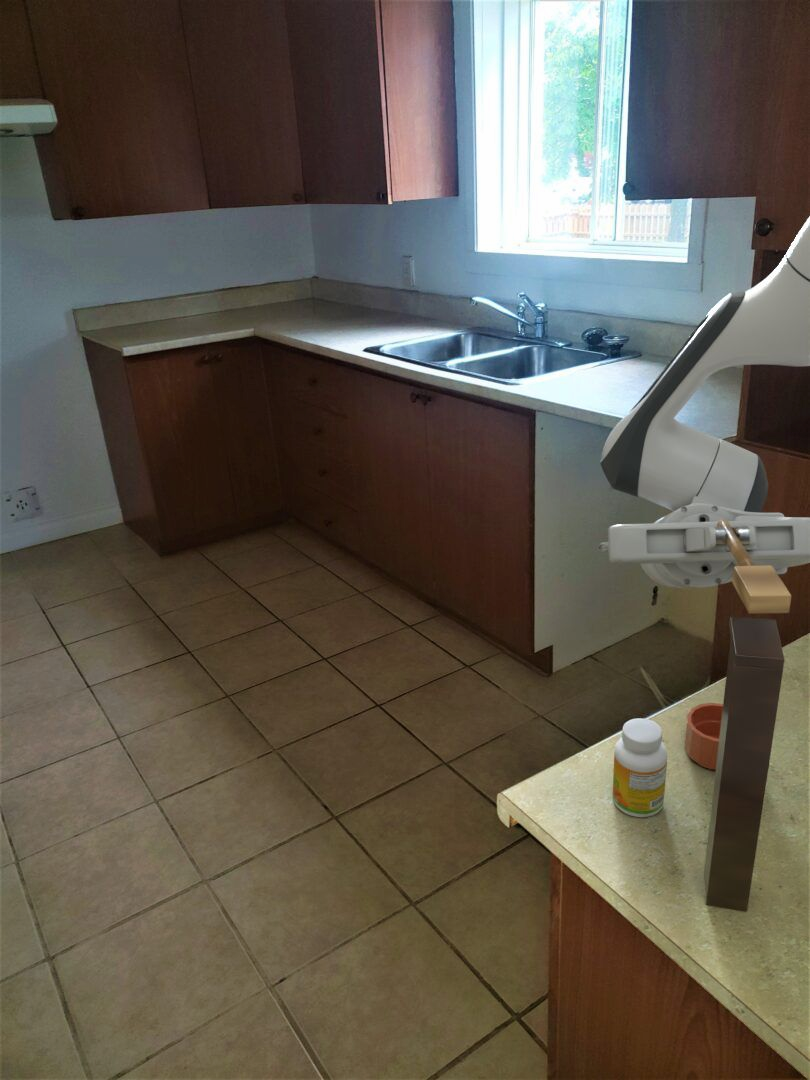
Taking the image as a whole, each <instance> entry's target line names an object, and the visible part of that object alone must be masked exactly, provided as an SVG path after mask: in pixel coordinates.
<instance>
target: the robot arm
mask: <svg viewBox="0 0 810 1080" xmlns="http://www.w3.org/2000/svg"><path fill="white" fill-rule="evenodd" d="M752 365H753V366H754V365H766V366H767V365H769V366H786V367H810V215H809V217H808V218H807V219H806V220H805V222H804V224H803V225H802V226H801V229H800V230H799V231H798V233H797V234H796V237H795V238H794V239H793V241H792V243H791V244H790V246H789V248H788V250H787V252H786V253H785V255H784V256H783V258H782V259H781V261H780V262H779V264H778V265H777V267H775V269H774V270H773V271H772V272H771V273H770V274H769V275H767V276H766V277H765V278H764V279H763V280H761V281H760V282H759V283H757V284H755V285H754V286H753V287H751V288H749V289H747V290H745V291H744V290H743V291H735V292H730V293H728V294H727V295H726V296H724V297H723V298H722V299H721V300H720V301H718V302H717V303H716V304H715V305H714V306H713V307H712V308H711V309H710V311H709V312H708V313H707V314H706V315H705V316H704V318H703V319H701V321H700V322H699V324H698V325H697V326H696V327H695V329H694V330H693V331H692V333H691V334H690V335H689V336H688V337H687V338H686V340H685V341H684V342H683V344H682V345H681V346H680V348H679V349H678V350H677V351H676V352H675V354H674V355H673V357H672V358H671V359H670V361H669V362H668V363H667V364H666V366H665V367H664V368H663V370H662V371H661V372H660V374H659V375H658V376H657V377H656V379H654V381H653V382H652V384H651V385H650V386H649V388H648V389H647V391H645V393H644V394H643V395H642V397H641V398H640V399H639V400H638V402H637V403H636V404H634V406H633V407H632V408H631V409H630V410H629V412H628V413H627V414H626V415H625V416H623V418H622V419H620V420H619V422H618V423H616V424H615V426H614V427H613V428H612V430H611V431H610V433H609V435H608V437H607V438H606V441H605V443H604V445H603V448H602V452H601V458H600V461H599V464H600V467H601V469H602V472H603V474H604V476H605V478H606V480H607V482H608V483H609V485H610V486H611V488H612V489H613V490H616V491H618V492H621V493H624V494H627V495H630V496H633V497H636V498H642V499H644V500H646V501H649V502H651V503H652V504H653V503H654V504H656V505H658V506H661V507H663V508H665V509H668V510H670V511H672V512H670V513H668V514H667V515H664V516H662V517H660V518H659V519H657V520H656V521H655V522H652V523H651V522H649V523H622V524H621V523H620V524H614V525H611V526H609V527H608V529H607V542H601V543H600V544H599V546H598V549H599V551H600V552H601V553H602V552H603V553H604V552H608V560H609V562H610V563H612V564H617V565H640V567H641V570H642V571H643V572H644V574H646V575H647V576H648V577H649V578H650V579H651V580H652V581H654V582H655V583H657V584H659V585H660V586H662V587H666V588H669V589H677V590H682V589H683V590H684V589H702V588H703V589H704V588H711V587H715V586H719V585H724V584H728V583H731V582H732V581H733V572H734V566H739V565H738V563H737V561H736V560H735V558H734V556H733V554H732V553H731V551H730V549H729V548H728V546H727V543H726V541H727V539H726V537H725V535H726V534H727V533H726V528H725V527H717V523H718V522H719V521H720V520H726V521H728V522H729V524H730V526H731V527H732V529H733V531H734V532H735V534H736V535H737V537H738V539H739V540H740V542H741V544H742V545H743V547H744V548H745V550H746V552H747V553H748V555H749V557H750V558H751V560H752V562H753V563H754V565H755V566H768V565H771V566H772V567H773V568H774V570H775V571H776V573H777V574H778V575H784V574H786V573H787V572H788V568H792V567H798V566H803V565H806V564H809V563H810V517H805V516H804V517H803V516H802V517H800V516H799V517H798V516H797V517H796V516H795V517H793V516H792V517H791V516H790V517H789V516H785V515H784V514H783V513H781V512H771V511H762V510H763V508H764V505H765V503H766V499H767V496H768V491H769V482H768V478H767V472H766V469H765V465H764V463H763V460H762V459H761V457H760V456H759V455H758V454H757V453H754V452H752V451H750V450H748V449H746V448H743V447H741V446H739V445H736V444H734V443H732V442H729V441H728V440H725V439H722V438H720V437H719V438H717V437H715V436H712V435H711V434H708V433H706V432H704V431H701V430H698V429H696V428H694V427H692V426H689V425H686V424H684V423H682V422H681V421H678V420H677V419H676V418H675V417H676V416H677V415H678V414H679V413H680V412H681V410H682V409H683V408H684V407H685V405H686V404H687V403H688V402H689V401H690V399H691V398H692V397H693V396H694V395H695V393H696V392H697V391H698V390H699V388H701V386H702V385H703V384H704V383H705V381H707V380H708V378H709V377H710V376H712V375H714V374H715V373H716V372H719V371H720V370H724V369H727V368H731V367H739V366H752Z"/></svg>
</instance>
